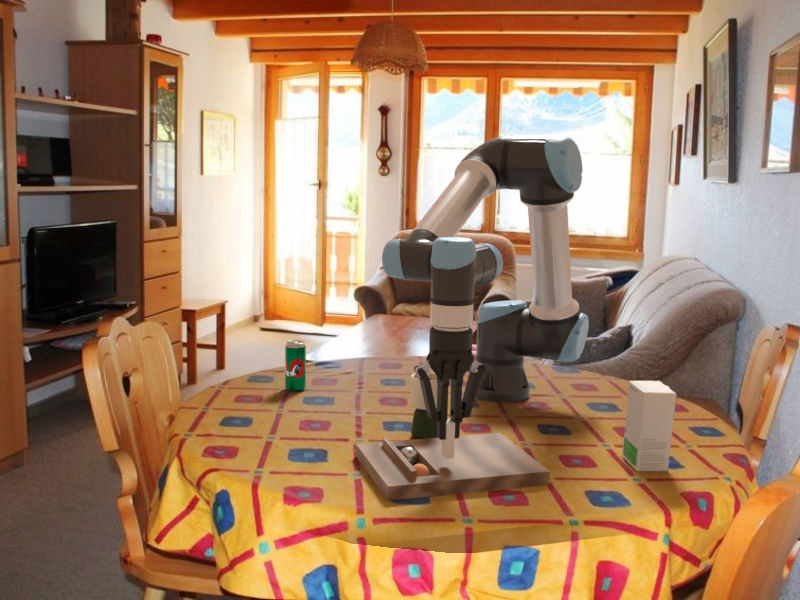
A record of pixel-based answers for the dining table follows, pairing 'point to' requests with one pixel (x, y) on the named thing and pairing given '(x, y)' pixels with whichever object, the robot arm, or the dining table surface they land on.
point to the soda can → (295, 365)
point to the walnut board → (450, 466)
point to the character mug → (422, 408)
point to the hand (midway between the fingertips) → (447, 455)
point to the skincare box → (648, 425)
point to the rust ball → (421, 470)
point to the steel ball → (409, 454)
